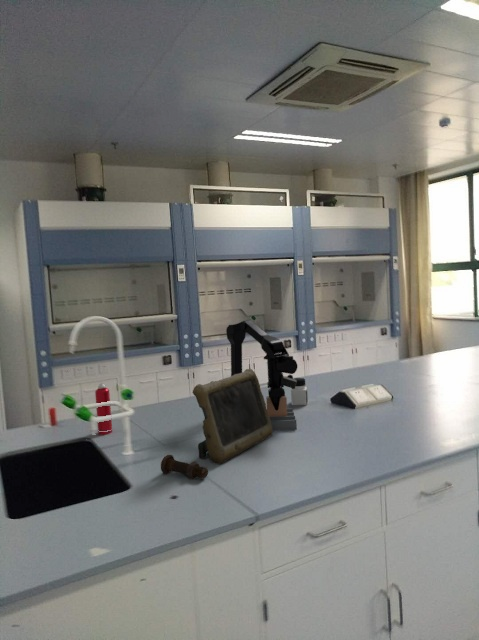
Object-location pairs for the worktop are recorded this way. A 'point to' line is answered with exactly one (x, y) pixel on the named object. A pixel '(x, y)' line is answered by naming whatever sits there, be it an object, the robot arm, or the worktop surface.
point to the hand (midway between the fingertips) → (276, 409)
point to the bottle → (103, 408)
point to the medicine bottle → (299, 393)
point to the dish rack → (284, 421)
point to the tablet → (232, 416)
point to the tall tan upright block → (281, 411)
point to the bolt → (183, 467)
